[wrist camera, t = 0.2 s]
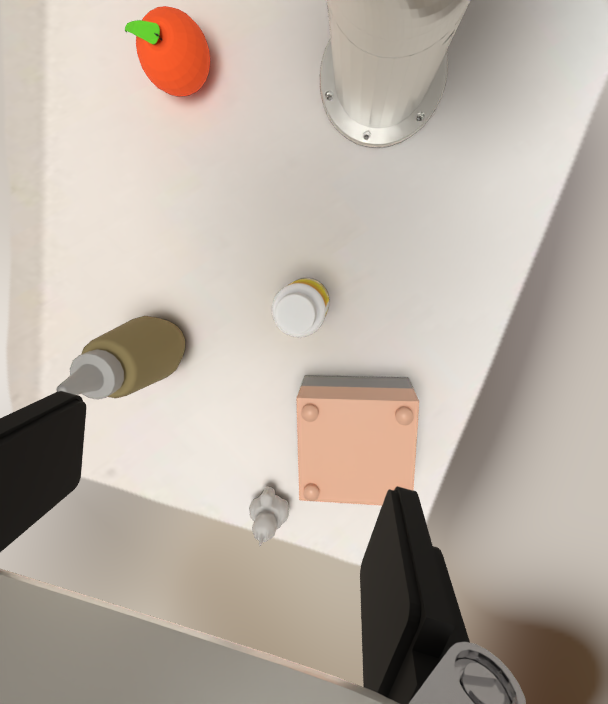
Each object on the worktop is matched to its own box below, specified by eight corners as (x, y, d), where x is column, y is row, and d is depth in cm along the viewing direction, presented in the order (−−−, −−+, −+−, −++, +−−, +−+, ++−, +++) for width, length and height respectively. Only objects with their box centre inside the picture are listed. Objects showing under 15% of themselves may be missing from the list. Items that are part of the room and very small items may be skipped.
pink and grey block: (304, 375, 47) (295, 400, 39) (408, 377, 46) (420, 404, 38) (306, 464, 51) (298, 504, 43) (403, 469, 49) (413, 512, 41)
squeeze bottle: (186, 378, 50) (99, 446, 32) (131, 358, 50) (15, 415, 33) (200, 323, 47) (114, 364, 30) (142, 302, 48) (23, 331, 30)
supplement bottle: (287, 274, 44) (269, 281, 35) (332, 281, 44) (327, 289, 34) (282, 319, 46) (263, 338, 36) (326, 326, 45) (319, 347, 36)
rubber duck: (255, 517, 54) (240, 560, 47) (252, 478, 53) (235, 516, 45) (292, 519, 54) (282, 563, 46) (289, 479, 52) (279, 519, 44)
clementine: (143, 91, 41) (102, 59, 34) (157, 19, 39) (116, -30, 32) (210, 116, 41) (181, 89, 34) (227, 45, 39) (201, 1, 32)
